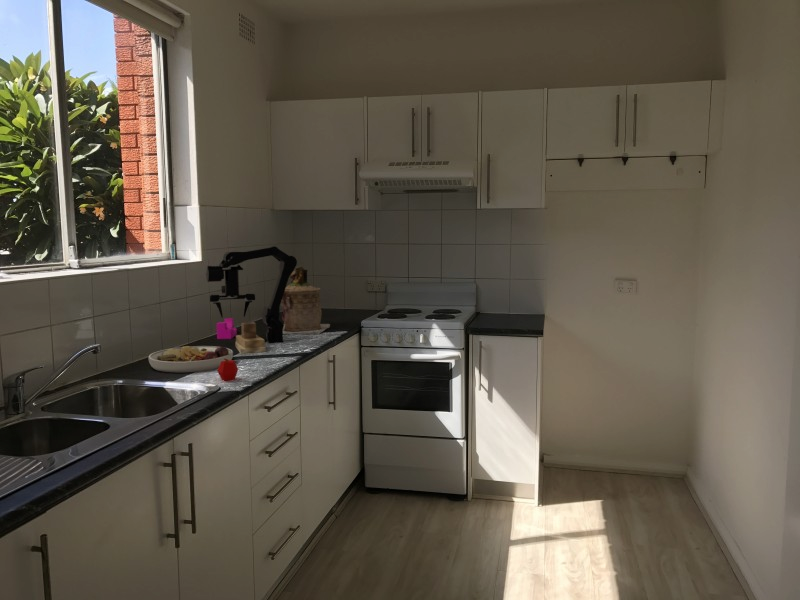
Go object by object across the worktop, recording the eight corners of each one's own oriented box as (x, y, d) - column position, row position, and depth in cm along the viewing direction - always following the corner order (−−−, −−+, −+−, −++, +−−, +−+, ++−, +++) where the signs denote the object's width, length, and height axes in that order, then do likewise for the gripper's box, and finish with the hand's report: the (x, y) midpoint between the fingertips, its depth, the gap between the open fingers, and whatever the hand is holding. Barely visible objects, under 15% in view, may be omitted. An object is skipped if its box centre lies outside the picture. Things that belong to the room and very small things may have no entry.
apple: (213, 383, 223) (212, 360, 222) (222, 379, 230) (221, 356, 229) (233, 384, 222) (232, 360, 221) (241, 379, 229) (240, 356, 228)
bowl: (133, 374, 239) (132, 352, 238) (172, 357, 268) (171, 338, 267) (213, 377, 235) (213, 354, 234) (245, 359, 264) (244, 339, 263)
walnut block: (253, 336, 283) (253, 321, 282) (256, 337, 279) (255, 323, 278) (241, 337, 281) (241, 322, 280) (244, 338, 277) (243, 324, 276)
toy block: (230, 339, 307) (230, 323, 306) (217, 339, 307) (216, 323, 306) (239, 333, 322) (238, 318, 321) (226, 334, 322) (225, 318, 321)
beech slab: (259, 346, 291) (258, 340, 290) (266, 354, 274) (265, 347, 274) (235, 348, 287) (235, 341, 287) (241, 356, 271) (240, 349, 270)
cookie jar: (331, 327, 339) (330, 263, 336) (320, 335, 315) (319, 267, 311) (283, 326, 342) (282, 263, 338) (269, 335, 318) (267, 267, 314)
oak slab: (254, 340, 289) (254, 333, 289) (264, 346, 275) (264, 339, 275) (236, 342, 286) (235, 335, 285) (245, 348, 271) (245, 341, 271)
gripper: (252, 278, 297) (253, 313, 299) (208, 280, 292) (210, 315, 294) (254, 280, 287) (255, 317, 289) (209, 282, 281) (210, 319, 283)
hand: (233, 317), depth 289 cm, fingers open, 9 cm apart
